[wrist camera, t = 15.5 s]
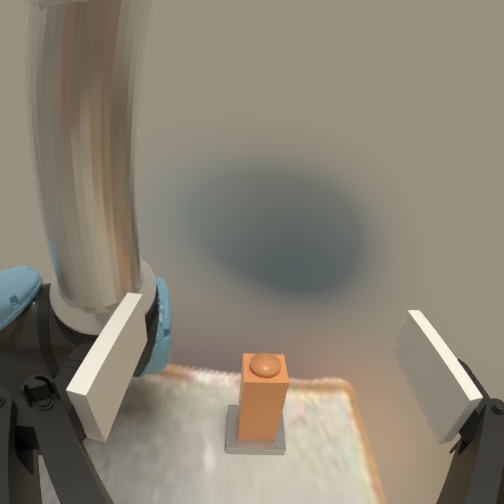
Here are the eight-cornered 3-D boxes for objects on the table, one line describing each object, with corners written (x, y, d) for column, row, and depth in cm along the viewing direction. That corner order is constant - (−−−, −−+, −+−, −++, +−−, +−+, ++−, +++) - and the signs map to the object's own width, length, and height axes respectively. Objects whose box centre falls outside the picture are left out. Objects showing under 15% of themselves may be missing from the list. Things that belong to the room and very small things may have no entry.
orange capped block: (238, 440, 37) (244, 376, 32) (237, 413, 42) (243, 348, 37) (274, 440, 37) (290, 377, 32) (271, 414, 42) (284, 349, 37)
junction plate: (225, 452, 36) (226, 424, 34) (228, 411, 44) (230, 380, 41) (284, 454, 36) (292, 427, 34) (280, 413, 44) (287, 383, 41)
